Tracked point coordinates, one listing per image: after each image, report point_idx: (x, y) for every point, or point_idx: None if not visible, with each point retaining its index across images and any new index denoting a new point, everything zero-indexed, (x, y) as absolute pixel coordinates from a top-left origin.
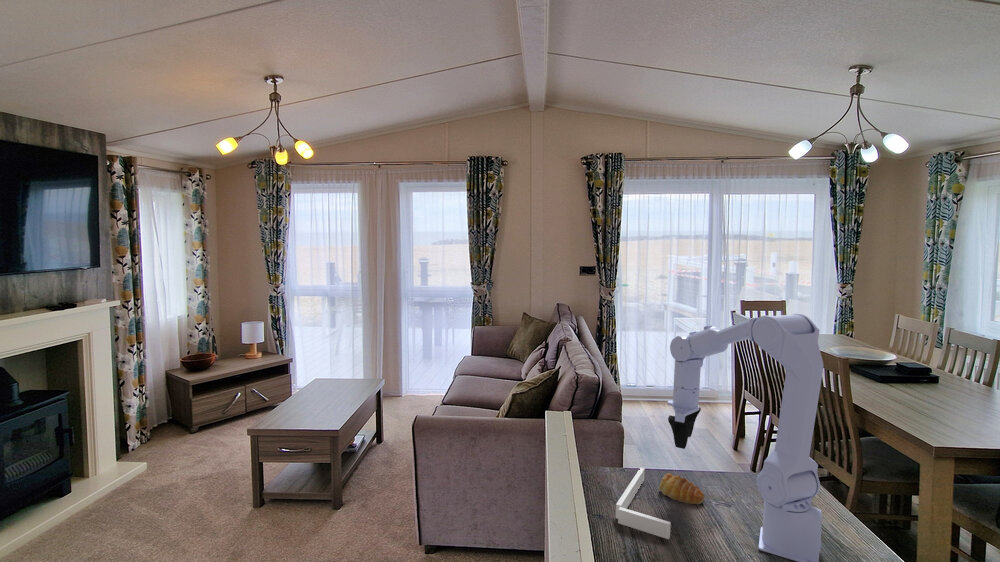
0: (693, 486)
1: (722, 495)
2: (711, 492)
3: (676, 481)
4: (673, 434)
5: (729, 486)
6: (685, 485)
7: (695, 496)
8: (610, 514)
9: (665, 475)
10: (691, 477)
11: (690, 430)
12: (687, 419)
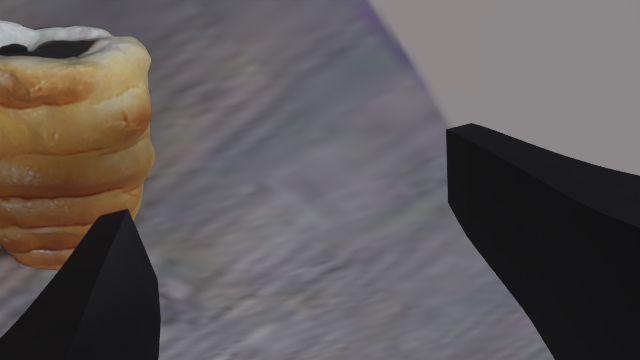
0: (80, 234)
1: (240, 270)
2: (229, 229)
3: (3, 164)
4: (25, 311)
5: (354, 256)
6: (24, 214)
7: (15, 259)
8: None
9: (5, 74)
10: (324, 94)
11: (482, 243)
12: (561, 293)
